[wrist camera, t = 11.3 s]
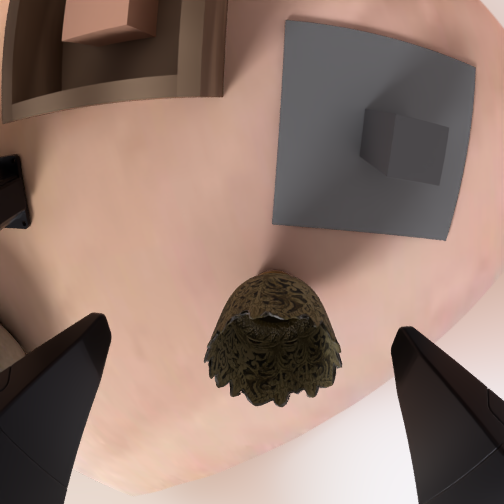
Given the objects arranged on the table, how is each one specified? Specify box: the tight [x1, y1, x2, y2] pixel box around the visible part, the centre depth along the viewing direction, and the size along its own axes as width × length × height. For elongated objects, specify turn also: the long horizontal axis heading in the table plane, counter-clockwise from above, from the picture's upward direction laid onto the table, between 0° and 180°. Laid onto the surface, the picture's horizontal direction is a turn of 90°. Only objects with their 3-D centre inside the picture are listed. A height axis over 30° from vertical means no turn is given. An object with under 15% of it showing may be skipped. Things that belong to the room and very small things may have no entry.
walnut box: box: [2, 0, 228, 124], centre depth 11 cm, size 12×12×6 cm
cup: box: [204, 270, 342, 407], centre depth 19 cm, size 8×7×8 cm
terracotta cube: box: [62, 0, 159, 47], centre depth 11 cm, size 4×4×4 cm
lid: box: [272, 20, 476, 241], centre depth 15 cm, size 13×13×6 cm
